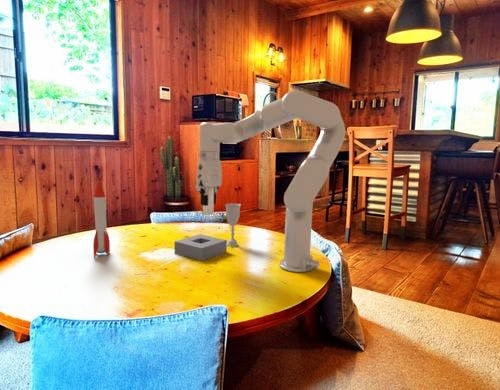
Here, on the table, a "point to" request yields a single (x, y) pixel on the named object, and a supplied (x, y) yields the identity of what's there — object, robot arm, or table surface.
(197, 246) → the socket block
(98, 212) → the toy rocket
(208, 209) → the peg
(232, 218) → the chalice
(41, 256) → the table surface
